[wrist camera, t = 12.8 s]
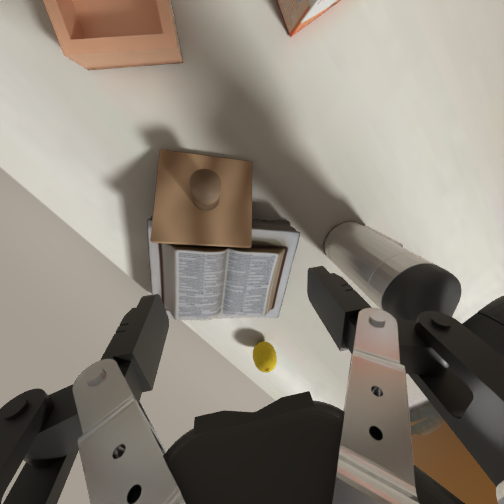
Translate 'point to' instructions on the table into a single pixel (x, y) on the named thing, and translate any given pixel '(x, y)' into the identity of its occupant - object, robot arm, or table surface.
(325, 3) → the cracker box
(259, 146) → the table surface
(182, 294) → the bible
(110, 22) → the dish
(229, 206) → the lid
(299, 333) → the table surface
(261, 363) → the lemon
